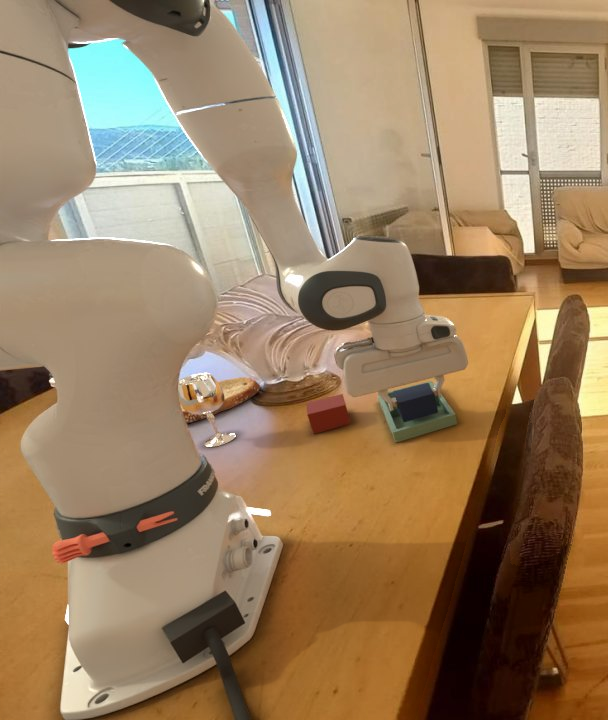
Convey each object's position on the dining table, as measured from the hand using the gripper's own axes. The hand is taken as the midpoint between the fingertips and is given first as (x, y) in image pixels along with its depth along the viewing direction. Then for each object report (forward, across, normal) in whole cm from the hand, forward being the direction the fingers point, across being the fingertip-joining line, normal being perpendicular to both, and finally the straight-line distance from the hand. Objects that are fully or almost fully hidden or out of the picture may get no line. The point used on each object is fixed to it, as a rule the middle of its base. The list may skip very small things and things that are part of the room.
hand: (416, 402), depth 86 cm
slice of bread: (+4, -36, +33) cm, 49 cm away
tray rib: (+4, 0, +4) cm, 6 cm away
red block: (+4, -14, +10) cm, 17 cm away
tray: (+4, 0, +4) cm, 6 cm away
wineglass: (+4, -31, +15) cm, 35 cm away
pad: (+2, 0, 0) cm, 2 cm away
